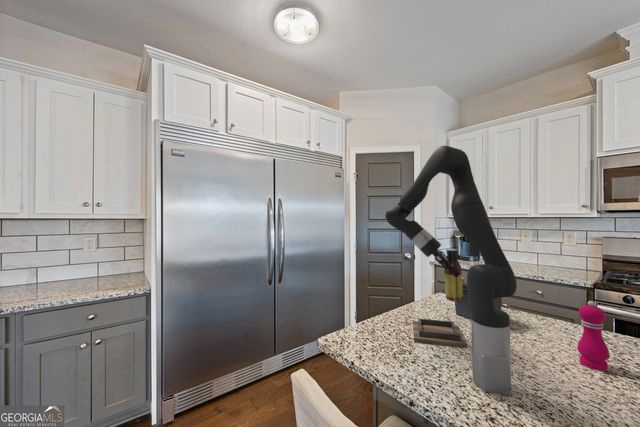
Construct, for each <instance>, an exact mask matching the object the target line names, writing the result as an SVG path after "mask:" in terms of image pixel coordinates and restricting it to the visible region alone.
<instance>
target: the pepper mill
mask: <svg viewBox="0 0 640 427" xmlns="http://www.w3.org/2000/svg"><path fill="white" fill-rule="evenodd" d="M578 316H580V318H581V320H580V324H581V326H582V327H583V332H582V336H581V337H580V339H579V340H578V341H577V345H576V346H577V347H576V348H577V351H578V353H579V354H580V355H579V363H580V364H581V365H582V366H584V367H587V368H589V369H592V370H597V371H608V369H609V366H608V362H607V360H608V359H609V358H610V350H609V348H608V346H607V344H606V342H605V340H604V338H603V335H602V333H603V332H602V330H603V329H604V323H603V322H604V321H605V320H606V317H607V316H606V313H605V312H604V311H603V309H602V308H600V307H598V306H596V302H595V301H594V300H589V301H587V304H585V305H581V307H579V310H578Z"/></svg>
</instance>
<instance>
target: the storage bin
mask: <svg viewBox="0 0 640 427" xmlns="http://www.w3.org/2000/svg"><path fill="white" fill-rule="evenodd" d="M462 288H463V296H462V298H463V300H462V301H459V302H456V301H454V309H455V313H456V315H457V316H461V317H464V318H467V319H471V312H470V309H469V303H468V290H467V281H466V282H465V281H464V282H463V281H462ZM502 300H503V297H500V298H493V305H494V308H497V309H500V310H502V303H503V301H502Z"/></svg>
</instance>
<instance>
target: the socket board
mask: <svg viewBox="0 0 640 427" xmlns="http://www.w3.org/2000/svg"><path fill="white" fill-rule="evenodd" d="M412 326H413V342H414V343H420V344H421V343H422V344H430V345H437V346H444V347H445V346H448V347H453V348H454V347H456V348H464V349H468V342H467V340H466V338H465V336H464V334H463V332H462V330H461V328H460V326H459V325H458V324H456V323H455V321H452V320H451V321H450V320H439V319H430V318H429V319H428V318H417V321H416V320H412Z"/></svg>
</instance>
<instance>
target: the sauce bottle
mask: <svg viewBox="0 0 640 427" xmlns="http://www.w3.org/2000/svg"><path fill="white" fill-rule="evenodd" d="M458 254H459V250H458V249H455V248H448V249H446V256H447V258H448V259H449V261H450V264H452V266H453V267H454V268H455V269H456V270H457V271H458V272H459V273H460V275H459V276H458V277H455V276H454V275H453V274H452V273H451V272H450V271H449V270H446V269H445V268H444V290H445V292H444V294H445V299H446V300H448V301H450V302H455V301H456V302H459V301H462V300H463V298H462V296H463V288H462V282H463V274H462V266H461V264H460V262H459V259H458ZM447 265H448V264H446V266H447Z"/></svg>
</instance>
